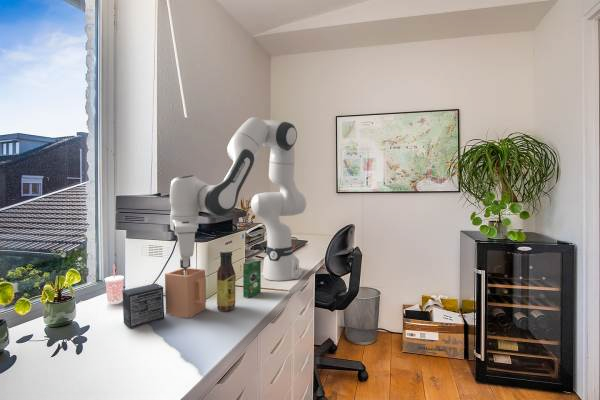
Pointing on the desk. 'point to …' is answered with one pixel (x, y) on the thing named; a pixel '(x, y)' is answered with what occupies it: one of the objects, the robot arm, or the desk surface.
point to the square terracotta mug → (185, 292)
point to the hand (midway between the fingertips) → (185, 265)
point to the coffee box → (251, 278)
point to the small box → (143, 305)
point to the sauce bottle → (226, 282)
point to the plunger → (184, 267)
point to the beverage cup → (114, 288)
